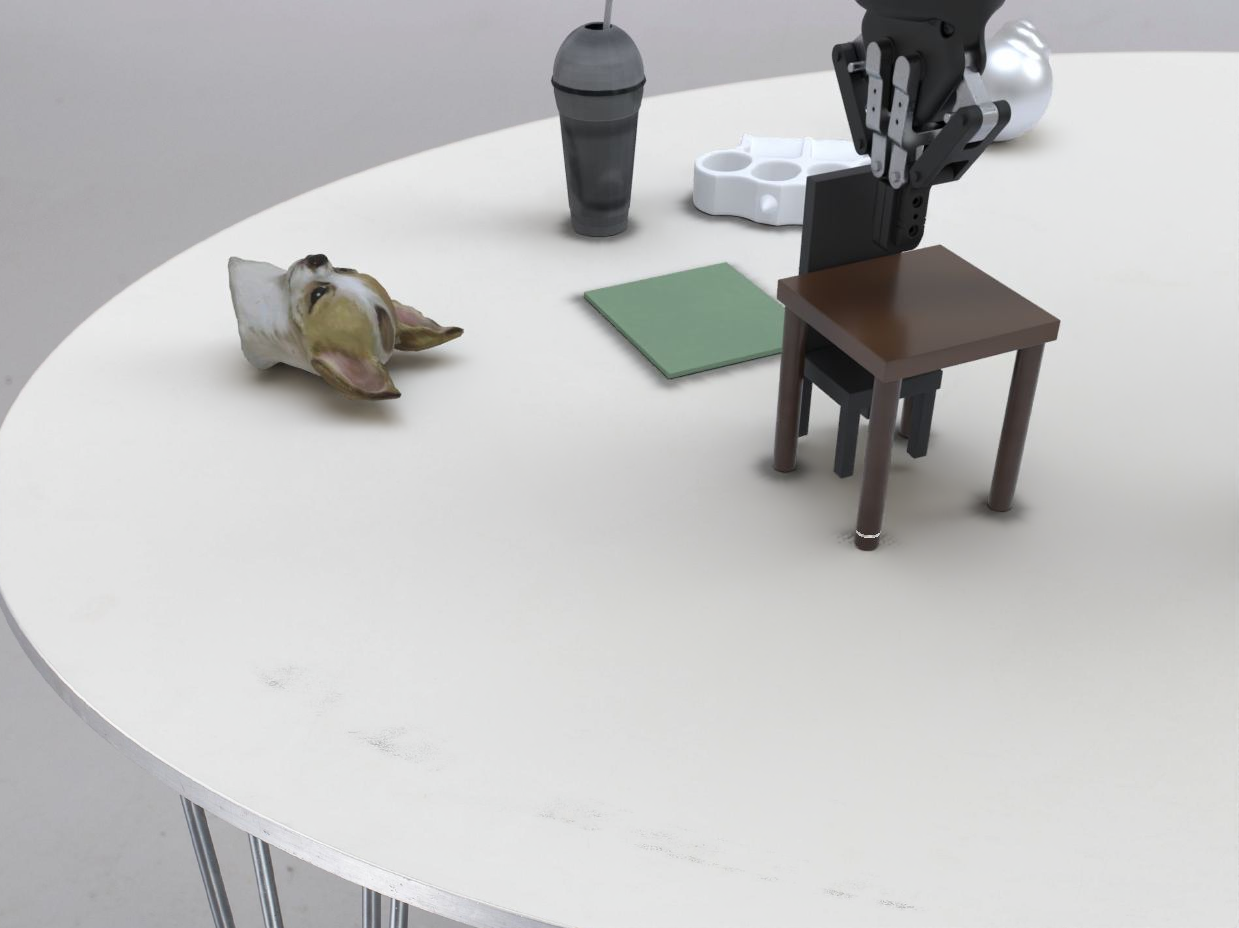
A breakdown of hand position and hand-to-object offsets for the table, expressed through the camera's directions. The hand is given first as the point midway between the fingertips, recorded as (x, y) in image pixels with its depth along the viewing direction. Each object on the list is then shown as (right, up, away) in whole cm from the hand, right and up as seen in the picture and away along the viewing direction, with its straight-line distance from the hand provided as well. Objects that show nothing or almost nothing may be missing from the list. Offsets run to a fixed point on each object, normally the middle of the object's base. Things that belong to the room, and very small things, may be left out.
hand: (894, 246), depth 79 cm
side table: (+1, -12, +7) cm, 14 cm away
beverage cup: (-16, +12, +38) cm, 43 cm away
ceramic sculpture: (-34, -3, +19) cm, 39 cm away
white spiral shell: (+20, +24, +53) cm, 61 cm away
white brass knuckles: (+1, +16, +42) cm, 45 cm away
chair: (0, -10, +10) cm, 14 cm away
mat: (-9, +2, +25) cm, 26 cm away
